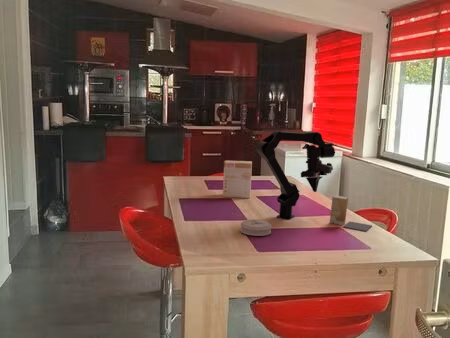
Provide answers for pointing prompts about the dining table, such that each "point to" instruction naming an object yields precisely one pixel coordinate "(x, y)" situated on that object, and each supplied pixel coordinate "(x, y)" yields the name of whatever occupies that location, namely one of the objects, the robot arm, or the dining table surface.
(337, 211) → the skincare box
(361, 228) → the pad
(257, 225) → the lid
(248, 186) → the coffeecake box
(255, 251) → the dining table surface
